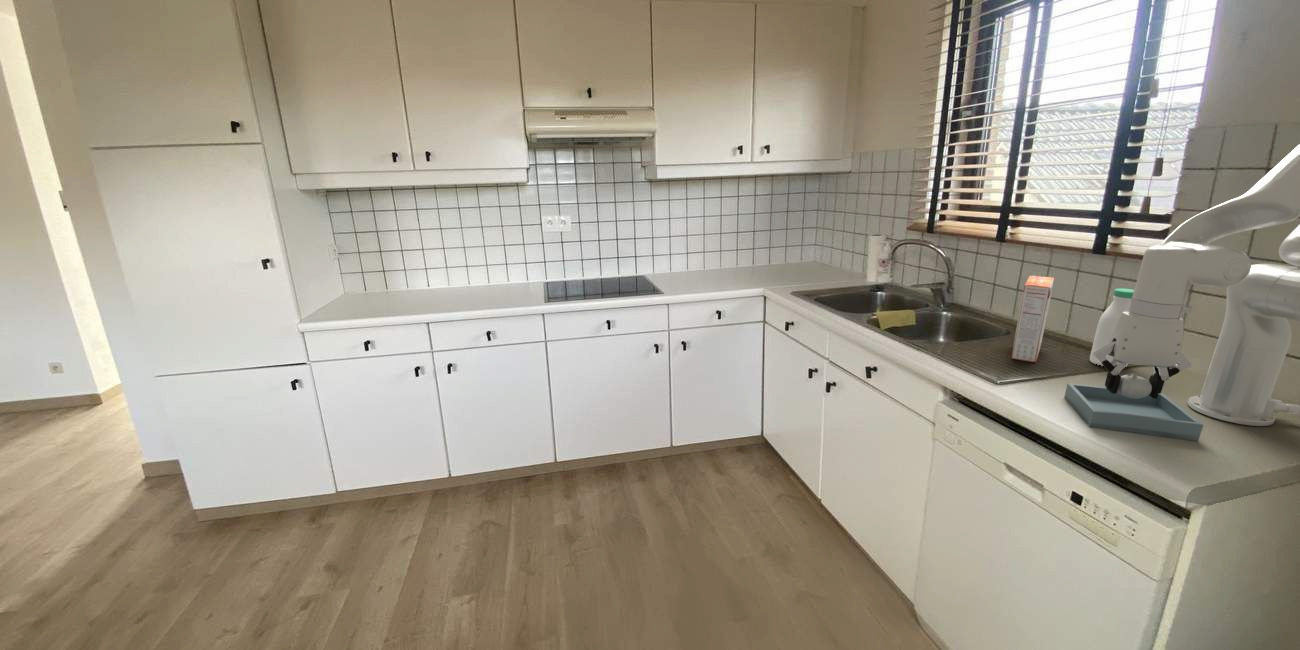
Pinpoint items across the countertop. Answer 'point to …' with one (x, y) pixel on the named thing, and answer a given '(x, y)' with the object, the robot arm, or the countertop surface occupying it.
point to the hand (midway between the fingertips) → (1131, 392)
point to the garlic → (1134, 386)
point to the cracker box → (1032, 318)
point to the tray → (1132, 413)
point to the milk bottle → (1110, 321)
